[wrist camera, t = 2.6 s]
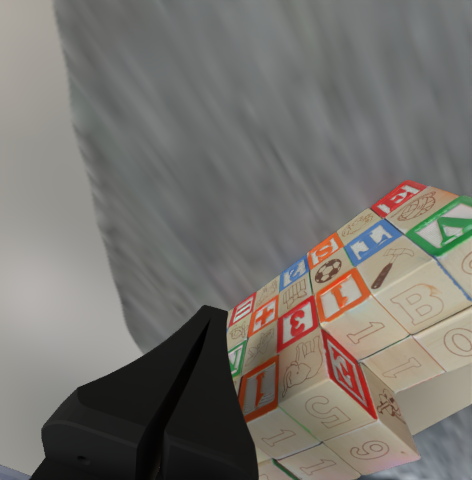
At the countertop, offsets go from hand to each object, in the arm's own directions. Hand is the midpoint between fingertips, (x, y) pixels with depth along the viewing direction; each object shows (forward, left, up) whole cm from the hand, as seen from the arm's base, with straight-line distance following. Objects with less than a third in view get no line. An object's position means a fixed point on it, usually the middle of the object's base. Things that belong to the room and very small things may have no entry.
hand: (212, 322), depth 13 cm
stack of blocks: (-7, -1, -10) cm, 13 cm away
